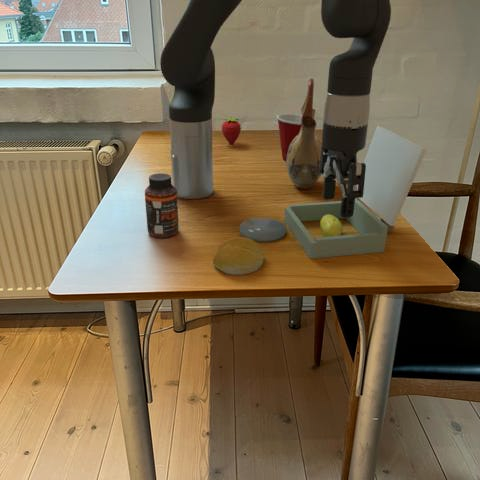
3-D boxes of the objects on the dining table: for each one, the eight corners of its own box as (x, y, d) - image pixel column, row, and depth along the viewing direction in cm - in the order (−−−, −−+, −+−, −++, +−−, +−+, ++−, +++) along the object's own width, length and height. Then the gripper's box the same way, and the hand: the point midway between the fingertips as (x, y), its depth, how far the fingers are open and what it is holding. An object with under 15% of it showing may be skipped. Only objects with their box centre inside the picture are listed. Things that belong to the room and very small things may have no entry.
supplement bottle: (165, 242, 85) (161, 184, 80) (141, 234, 88) (135, 177, 83) (185, 230, 89) (182, 174, 84) (161, 223, 92) (157, 169, 87)
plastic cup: (314, 165, 126) (318, 121, 121) (275, 164, 127) (277, 121, 121) (310, 154, 136) (313, 113, 131) (273, 153, 136) (275, 112, 131)
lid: (422, 148, 75) (426, 149, 75) (377, 125, 89) (381, 126, 89) (390, 225, 80) (393, 226, 80) (352, 192, 94) (355, 193, 94)
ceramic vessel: (323, 199, 105) (334, 84, 93) (283, 196, 106) (290, 83, 94) (320, 175, 119) (330, 74, 108) (286, 173, 120) (292, 73, 109)
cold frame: (309, 258, 80) (312, 232, 78) (283, 220, 94) (285, 198, 92) (383, 251, 83) (388, 226, 80) (347, 215, 96) (350, 193, 94)
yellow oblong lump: (320, 244, 85) (322, 225, 83) (318, 226, 92) (320, 208, 90) (343, 246, 85) (346, 227, 83) (339, 227, 92) (341, 209, 90)
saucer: (244, 243, 85) (244, 239, 84) (235, 223, 93) (235, 219, 92) (291, 239, 86) (291, 235, 86) (278, 220, 94) (278, 216, 94)
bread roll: (208, 274, 76) (207, 252, 74) (223, 249, 83) (223, 229, 81) (257, 280, 74) (257, 259, 72) (267, 254, 82) (268, 234, 80)
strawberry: (221, 148, 140) (221, 115, 135) (222, 142, 147) (221, 110, 142) (240, 148, 140) (241, 115, 136) (240, 142, 147) (240, 110, 142)
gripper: (310, 112, 84) (305, 195, 91) (342, 131, 72) (333, 225, 79) (348, 110, 85) (340, 192, 93) (386, 128, 73) (373, 220, 80)
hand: (337, 207), depth 86 cm, fingers open, 8 cm apart
